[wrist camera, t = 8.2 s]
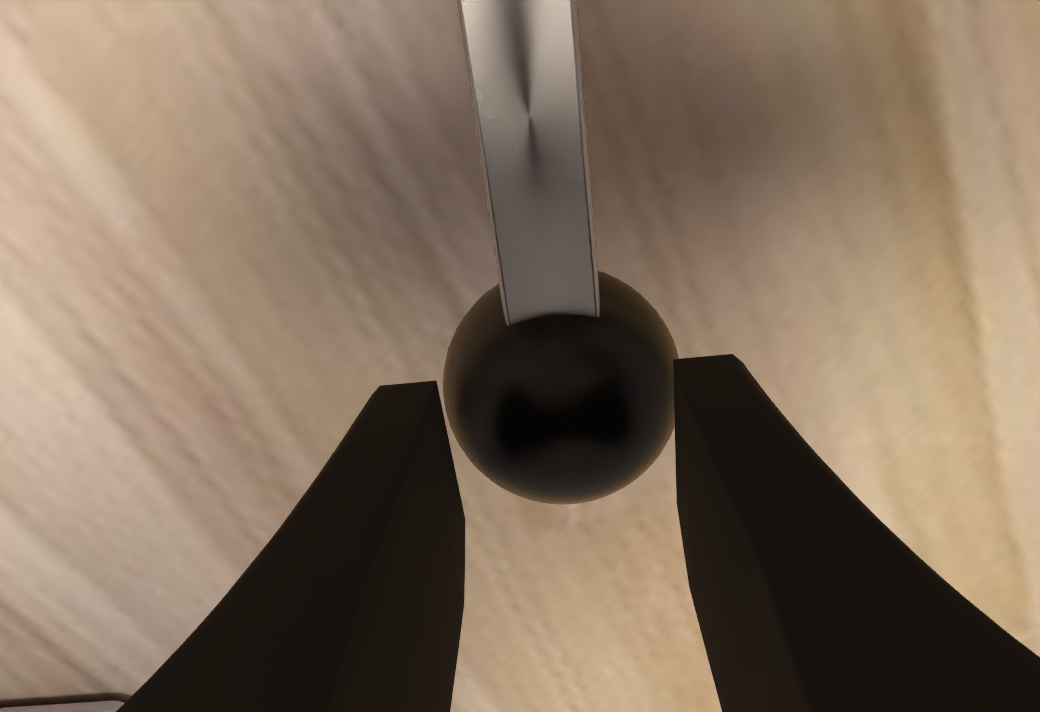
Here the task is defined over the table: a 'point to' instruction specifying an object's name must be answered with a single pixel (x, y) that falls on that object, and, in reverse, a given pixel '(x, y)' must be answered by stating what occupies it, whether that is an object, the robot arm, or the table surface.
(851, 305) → the table surface
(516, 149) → the ball knob lever
